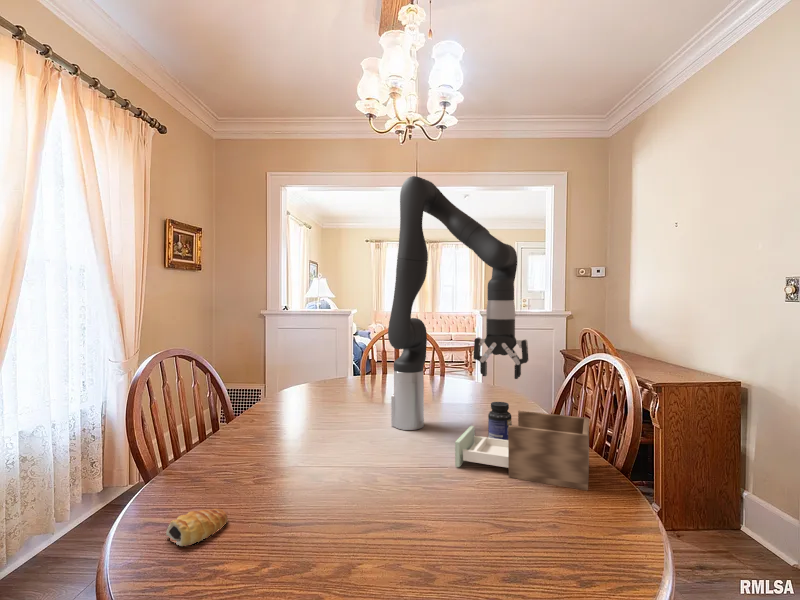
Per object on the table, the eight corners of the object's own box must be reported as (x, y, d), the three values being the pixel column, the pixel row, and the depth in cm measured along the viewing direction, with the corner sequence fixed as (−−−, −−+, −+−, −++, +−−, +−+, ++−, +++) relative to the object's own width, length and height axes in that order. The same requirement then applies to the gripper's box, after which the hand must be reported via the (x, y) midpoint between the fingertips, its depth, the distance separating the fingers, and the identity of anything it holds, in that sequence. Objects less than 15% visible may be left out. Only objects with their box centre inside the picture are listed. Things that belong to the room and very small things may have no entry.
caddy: (508, 477, 93) (508, 426, 93) (519, 455, 106) (518, 410, 106) (587, 490, 87) (587, 436, 86) (589, 465, 99) (588, 418, 99)
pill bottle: (512, 449, 110) (512, 407, 110) (488, 447, 112) (488, 406, 111) (511, 441, 116) (510, 401, 116) (488, 439, 118) (488, 400, 118)
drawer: (455, 466, 99) (455, 442, 99) (470, 447, 111) (470, 425, 111) (525, 478, 92) (525, 452, 92) (533, 456, 104) (533, 433, 104)
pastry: (214, 515, 78) (214, 495, 78) (236, 526, 74) (236, 505, 74) (162, 540, 70) (162, 517, 70) (184, 553, 67) (184, 529, 67)
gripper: (471, 317, 114) (470, 377, 114) (525, 318, 108) (525, 382, 108) (478, 316, 120) (477, 372, 121) (529, 317, 114) (529, 376, 115)
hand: (500, 377), depth 114 cm, fingers open, 8 cm apart
